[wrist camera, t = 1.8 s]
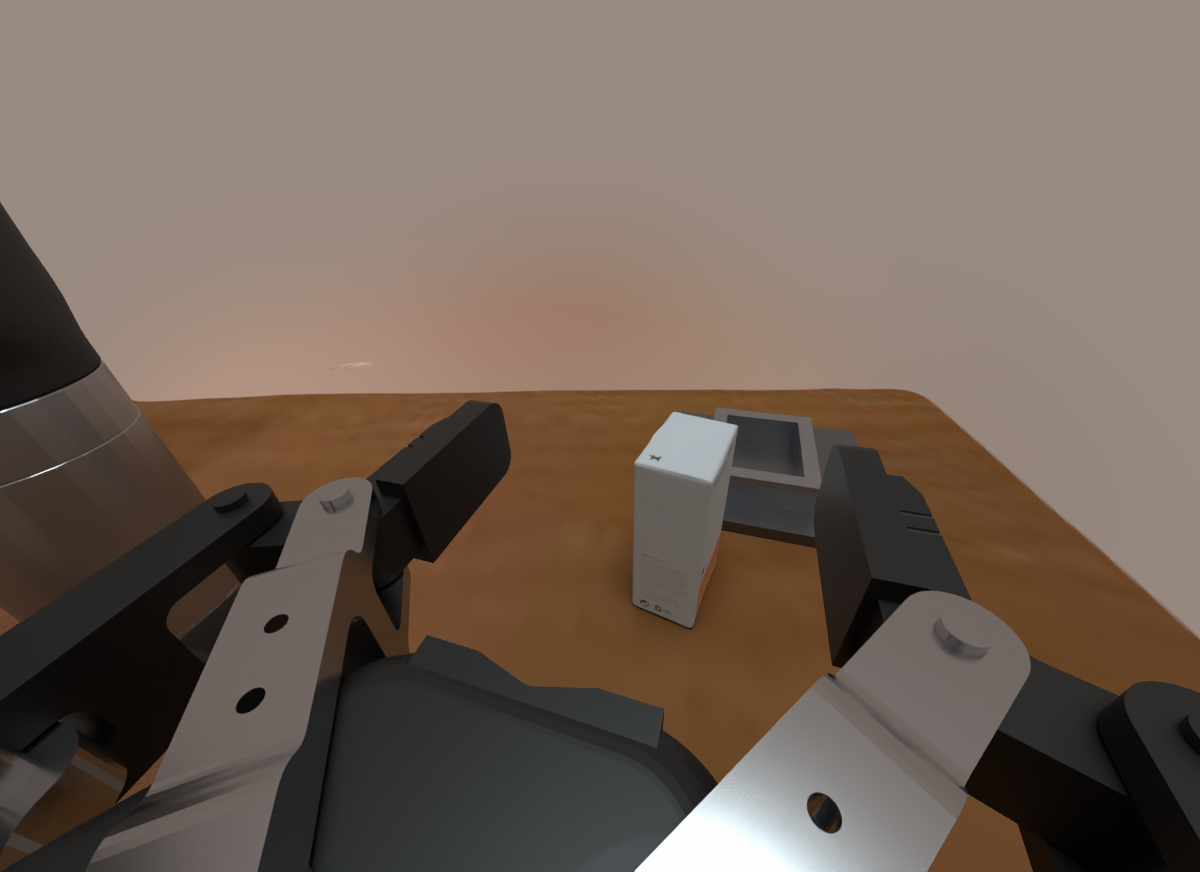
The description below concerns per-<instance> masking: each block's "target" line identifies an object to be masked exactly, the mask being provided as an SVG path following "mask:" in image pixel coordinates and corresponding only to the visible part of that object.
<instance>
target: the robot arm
mask: <svg viewBox="0 0 1200 872" xmlns="http://www.w3.org/2000/svg"><path fill="white" fill-rule="evenodd" d="M510 460H511V451H510V446H509V441H508V436H507V431H506V426H505V421H504V416H503V411H502V408H501V407H500V405H499V404H497V403H491V402H483V401H474V400H470V401H468V402H466V403H465V404H464V405H463V406H461V407H460V408H459V409H458V410H457V411H455V412H454V413H453V414H452V415H451V416H449V417H448V418H445V419H443V420H441V421H439V422H437V423H435V424H433V425H432V426H430V427H429V428H428V429H427V430H426V431H424V432H423V433H422V434H421V435H419V438H416V439H415V440H413V441H412V442H411V443H410V444H408V447H405V448H404V449H402V450H401V451H400V452H399V453H397V454H396V455H395V456H394V457H393V458H391V459H390V460H389V461H388V462H386V463H385V464H384V465H383V466H382V467H380V468H379V469H378V470H377V471H375V472H374V473H373V474H372V475H371V476H369V477H368V478H367V479H363V478H345V479H340V480H336V481H333V482H331V483H328V484H326V485H323V486H322V487H320V488H318V489H316V490H315V491H313V492H312V493H311V494H309V495H308V496H307V497H306V498H305V499H304V500H303V501H287V502H279V500H278V499H277V497H276V496H275V494H274V492H273V491H272V489H271V487H270V486H269V485H267V484H264V483H248V484H243V485H239V486H236V487H232V488H230V489H227V490H225V491H222V492H220V493H218V494H216V495H214V496H213V497H211V498H209V499H208V500H206V499H205V498H204V496H203V495H202V494H201V492H200V491H199V490H198V488H197V487H196V486H195V484H194V483H193V482H192V480H191V479H190V478H189V476H188V475H187V473H186V472H185V471H184V469H183V468H182V467H181V465H180V464H179V463H178V461H177V460H176V459H175V457H174V456H173V455H172V453H171V452H170V451H169V449H168V448H167V446H166V445H165V444H164V442H163V441H162V440H161V438H160V437H159V436H158V434H157V433H156V432H155V430H154V429H153V428H152V426H151V425H150V423H149V422H148V421H147V419H146V418H145V417H144V415H143V414H142V413H141V411H140V410H139V409H138V408H137V406H136V405H135V404H134V402H133V401H132V400H131V398H130V397H129V396H128V394H127V393H126V392H125V390H124V389H123V388H122V386H121V385H120V384H119V382H118V381H117V379H116V378H115V377H114V375H113V374H112V373H111V371H110V370H109V369H108V367H107V366H106V365H105V363H104V362H103V361H102V360H101V358H100V356H99V355H98V354H97V352H96V351H95V349H94V348H93V347H92V345H91V344H90V343H89V341H88V340H87V338H86V337H85V335H84V334H83V332H82V331H81V329H80V327H79V325H78V323H77V321H76V320H75V318H74V316H73V314H72V312H71V310H70V308H69V306H68V304H67V302H66V301H65V299H64V297H63V295H62V294H61V292H60V291H59V289H58V287H57V286H56V284H55V282H54V281H53V279H52V278H51V276H50V275H49V273H48V272H47V270H46V269H45V268H44V266H43V265H42V263H41V262H40V260H39V259H38V258H37V256H36V255H35V253H34V252H33V251H32V249H31V248H30V246H29V245H28V243H27V242H26V240H25V239H24V238H23V236H22V234H21V233H20V231H19V230H18V228H17V227H16V225H15V224H14V222H13V221H12V219H11V218H10V216H9V215H8V213H7V212H6V210H5V209H4V207H3V206H2V204H1V203H0V607H1V608H2V609H3V610H5V611H6V612H7V613H9V614H10V615H11V616H13V617H14V618H15V619H17V620H18V621H19V622H21V623H19V624H18V625H16V626H15V627H13V628H12V629H10V630H8V631H7V632H5V633H4V634H2V635H1V636H0V872H927V870H928V869H929V867H930V865H931V863H932V862H933V860H934V858H935V856H936V855H937V853H938V851H939V849H940V848H941V846H942V844H943V842H944V841H945V839H946V837H947V835H948V833H949V832H950V830H951V828H952V826H953V825H954V823H955V821H956V819H957V818H958V816H959V814H960V812H961V810H962V808H963V806H964V804H965V802H966V799H967V796H968V794H969V795H971V796H972V797H974V798H976V799H977V800H979V801H981V802H982V803H984V804H986V805H987V806H989V807H991V808H992V809H994V810H996V811H997V812H999V813H1001V814H1002V815H1004V816H1006V817H1007V818H1009V819H1011V820H1012V821H1014V822H1016V823H1017V824H1018V826H1019V829H1020V832H1021V835H1022V839H1023V842H1024V845H1025V848H1026V851H1027V854H1028V857H1029V860H1030V863H1031V866H1032V869H1033V872H1200V693H1198V692H1195V691H1193V690H1190V689H1187V688H1184V687H1181V686H1177V685H1174V684H1169V683H1164V682H1154V681H1147V682H1139V683H1136V684H1134V685H1132V686H1131V687H1130V688H1128V689H1127V690H1126V691H1125V692H1123V693H1122V694H1121V695H1120V696H1118V695H1116V694H1113V693H1111V692H1109V691H1106V690H1104V689H1102V688H1099V687H1097V686H1095V685H1093V684H1090V683H1088V682H1086V681H1083V680H1081V679H1079V678H1076V677H1074V676H1072V675H1070V674H1067V673H1065V672H1063V671H1060V670H1058V669H1056V668H1053V667H1051V666H1049V665H1047V664H1045V663H1043V662H1041V661H1039V660H1036V659H1035V658H1033V657H1031V656H1029V654H1028V652H1027V650H1026V648H1025V646H1024V644H1023V643H1022V642H1021V640H1020V639H1019V637H1018V636H1017V635H1016V634H1015V633H1014V632H1013V630H1012V629H1011V628H1010V627H1009V626H1008V625H1006V624H1005V623H1004V622H1003V621H1002V620H1001V619H999V618H998V617H997V616H996V615H994V614H993V613H991V612H990V611H988V610H987V609H985V608H984V607H982V606H980V605H978V604H976V603H974V602H972V600H971V598H970V596H969V594H968V591H967V589H966V587H965V585H964V583H963V581H962V579H961V576H960V574H959V572H958V570H957V568H956V566H955V563H954V561H953V559H952V557H951V555H950V553H949V551H948V548H947V546H946V544H945V542H944V540H943V538H942V536H939V532H940V531H939V529H938V527H937V525H936V523H935V520H934V519H932V518H931V516H932V514H931V512H930V510H929V508H928V505H927V503H926V501H925V499H924V497H923V495H922V494H921V493H920V492H919V491H918V490H917V489H916V488H915V487H913V486H912V485H911V484H910V483H909V482H908V481H907V480H906V479H905V478H904V477H902V476H894V475H887V474H886V472H885V469H884V467H883V464H882V461H881V459H880V456H879V454H878V451H877V450H876V449H873V448H864V447H856V446H847V445H839V444H835V445H834V446H833V447H832V449H831V452H830V455H829V458H828V462H827V465H826V468H825V472H824V475H823V478H822V482H821V485H820V488H819V492H818V495H817V499H816V503H815V508H814V522H813V523H814V533H815V541H816V549H817V556H818V564H819V571H820V579H821V586H822V594H823V601H824V609H825V616H826V624H827V631H828V639H829V646H830V654H831V661H832V666H836V667H840V668H841V669H840V670H839V671H838V672H837V673H836V674H835V675H834V676H833V675H831V674H830V673H828V674H826V675H824V676H823V677H821V678H820V679H819V680H818V681H817V682H816V683H815V684H814V685H813V686H812V687H811V688H810V689H809V690H808V691H807V692H806V693H805V694H804V695H803V696H802V697H801V698H800V699H799V700H798V701H797V702H796V703H795V704H794V705H793V707H792V708H791V709H790V710H789V711H788V712H787V713H786V714H785V715H784V716H783V717H782V718H781V719H780V720H779V721H778V722H777V723H776V724H775V725H774V726H773V727H772V728H771V729H770V731H769V732H768V733H767V734H766V735H765V736H764V737H763V738H762V739H761V740H760V741H759V742H758V743H757V744H756V745H755V746H754V747H753V748H752V749H751V750H750V751H749V752H748V753H747V755H746V756H745V757H744V758H743V759H742V760H741V761H740V762H739V763H738V764H737V765H736V766H735V767H734V768H733V769H732V770H731V771H730V772H729V773H728V774H727V775H726V776H725V778H724V779H723V780H722V781H721V782H720V783H719V784H718V783H717V782H716V780H715V779H714V778H713V776H712V775H711V774H710V772H709V771H708V770H707V769H706V767H705V766H704V765H703V764H702V763H701V762H700V761H699V760H698V759H697V758H696V757H695V756H694V755H693V753H691V752H690V751H689V750H688V749H687V748H686V747H684V746H683V745H682V744H681V743H680V742H679V741H677V740H676V739H675V738H673V737H672V736H670V735H669V734H667V733H666V732H665V731H663V720H664V709H662V708H659V707H656V706H653V705H650V704H646V703H643V702H640V701H637V700H634V699H630V698H627V697H624V696H621V695H617V694H614V693H611V692H608V691H605V690H601V689H598V688H564V687H533V686H528V685H525V684H524V683H522V682H521V681H519V680H518V679H516V678H515V677H514V676H512V675H511V674H509V673H508V672H507V671H505V670H504V669H502V668H501V667H500V666H498V665H497V664H495V663H494V662H493V661H491V660H490V659H488V658H487V657H486V656H484V655H483V654H482V653H480V652H479V651H476V650H473V649H470V648H467V647H464V646H460V645H457V644H454V643H451V642H448V641H444V640H441V639H438V638H435V637H431V636H428V635H427V636H426V638H425V639H424V640H423V642H422V643H421V645H420V646H419V648H418V649H417V650H416V652H415V653H411V654H410V652H409V645H408V628H409V602H410V571H409V568H408V566H407V565H408V564H409V563H410V562H411V560H412V559H413V558H416V559H420V560H424V561H427V562H431V563H434V562H435V561H436V560H437V558H438V557H439V556H440V555H441V553H442V552H443V551H444V550H445V548H446V547H447V546H448V545H449V543H450V542H451V541H452V540H453V538H454V537H455V536H456V535H457V534H458V532H459V531H460V530H461V529H462V527H463V526H464V525H465V524H466V522H467V521H468V520H469V519H470V517H471V516H472V515H473V514H474V512H475V511H476V510H477V509H478V507H479V506H480V505H481V504H482V503H483V501H484V500H485V499H486V498H487V496H488V495H489V494H490V493H491V491H492V490H493V489H494V488H495V486H496V485H497V484H498V483H499V481H500V480H501V479H502V478H503V476H504V475H505V474H506V472H507V471H508V468H509V465H510ZM60 719H61V720H60ZM58 720H60V722H58ZM167 749H168V750H167ZM166 750H167V752H166V754H165V757H164V759H163V761H162V763H161V766H160V768H159V770H158V772H157V774H156V777H155V779H154V781H153V783H152V784H151V785H150V786H148V787H146V788H144V789H143V790H141V791H139V792H137V793H136V794H134V795H132V796H130V797H129V798H127V799H125V800H123V801H122V802H120V803H118V804H116V803H117V802H118V801H119V800H120V799H121V798H122V797H123V796H124V795H125V794H126V793H127V792H128V790H129V789H130V788H131V787H132V786H133V785H134V784H135V783H136V782H137V781H138V780H139V779H140V778H141V777H142V776H143V775H144V774H145V773H146V771H147V770H148V769H149V768H150V767H151V766H152V765H153V764H154V763H155V762H156V761H157V760H158V759H159V758H160V757H161V756H162V755H163V754H164V752H165V751H166Z"/></svg>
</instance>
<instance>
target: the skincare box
mask: <svg viewBox="0 0 1200 872" xmlns="http://www.w3.org/2000/svg"><path fill="white" fill-rule="evenodd" d="M737 431H738V426H737V425H734V424H729V423H725V422H720V421H715V420H710V419H706V418H701V417H696V416H692V415H687V414H683V413H679V412H673V413H671V415H670V416H669V417H668V419H667V420H666V421H665V423H664V424H663V425H662V427H661V428H659V429H658V430H657V432H656V433H655V434H654V435H653V436H652V439H651V441H650V442H649V444H648V445H647V446H646V448H645V449H644V451H643V452H642V453H641V454H640V456H639V457H638V459H637V460H636V461H635V463H634V509H633V595H632V603H633V604H634V605H636V606H638V607H640V608H643V609H645V610H647V611H650V612H652V613H655V614H657V615H660V616H662V617H664V618H667V619H669V620H671V621H674V622H676V623H678V624H681V625H683V626H685V627H688V628H692V627H693V624H694V621H695V617H696V614H697V612H698V609H699V606H700V603H701V600H702V597H703V594H704V591H705V589H706V586H707V584H708V581H709V579H710V576H711V574H712V571H713V569H714V566H715V564H716V558H717V552H718V546H719V540H720V534H721V528H722V522H723V516H724V510H725V504H726V498H727V492H728V486H729V480H730V474H731V468H732V461H733V455H734V449H735V443H736V437H737Z"/></svg>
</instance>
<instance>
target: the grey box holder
mask: <svg viewBox="0 0 1200 872" xmlns="http://www.w3.org/2000/svg"><path fill="white" fill-rule="evenodd" d="M674 412H677V411H674ZM679 413H683V414H687V415H692V416H696V417H701V418H706V419H710V420H715V421H720V422H725V423H729V424H734V425H737V426H738V431H737V437H736V443H735V449H734V455H733V461H732V468H731V474H730V480H729V486H728V492H727V498H726V504H725V510H724V516H723V522H722V528H721V530H727V531H732V532H737V533H742V534H748V535H753V536H758V537H764V538H769V539H774V540H779V541H785V542H790V543H795V544H801V545H806V546H811V547H816V541H815V533H814V523H813V522H814V508H815V503H816V499H817V495H818V492H819V488H820V485H821V482H822V478H823V475H824V472H825V468H826V465H827V462H828V458H829V455H830V452H831V449H832V447H833V446H834V445H835V444H839V445H847V446H856V447H858V446H857V443H856V440H855V437H854V434H853V432H849V431H841V430H832V429H824V428H815V427H812V421H811V418H807V417H798V416H789V415H780V414H771V413H762V412H753V411H744V410H735V409H726V408H717V407H716V411H715V416H712V415H703V414H695V413H686V412H679Z"/></svg>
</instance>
